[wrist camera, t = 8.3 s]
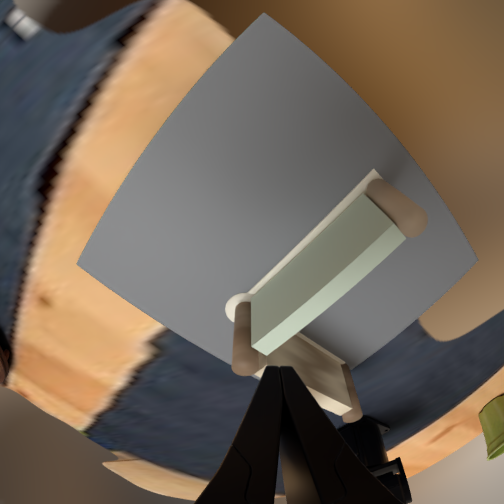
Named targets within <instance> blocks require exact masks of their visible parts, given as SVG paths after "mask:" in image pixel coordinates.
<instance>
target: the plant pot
mask: <svg viewBox="0 0 504 504" xmlns="http://www.w3.org/2000/svg"><path fill="white" fill-rule="evenodd" d="M479 419H480V423H481V426H482V429H483V433H484V436H485V440H486V444H487V453H488V457H487V460H492V459H494V458H496V457H498V456H499V455H501V454H503V453H504V395H503V396H501V397H497V398H495V399H493V400H492V401H491V402H490V403H489V404H487V405H486V406H485V407H484V408H483V411H482V412H481V413H479Z"/></svg>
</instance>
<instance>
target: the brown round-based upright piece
mask: <svg viewBox="0 0 504 504" xmlns="http://www.w3.org/2000/svg"><path fill="white" fill-rule="evenodd" d="M8 357H9V350H8V349H5V350H2V348H1V346H0V383H2V382H3V381H4V380H5V378H6V377H7V375H8V372H9V367H8V362H7V360H8Z"/></svg>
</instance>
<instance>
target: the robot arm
mask: <svg viewBox="0 0 504 504" xmlns="http://www.w3.org/2000/svg"><path fill="white" fill-rule="evenodd" d="M389 430H390V427H389V426H387V425H385V424H382V423H380V422H378V421H375V420H373V419H371V418H368V417H362V418H360V419H359V420H357V421H355V422H353V423H352V424H350V425H348V426H346V427H344V428H343V429H341V430H339V431H338V430H337V429H336V428H335V426H334V425H333V423H332V422H331V421H330V419H329V418H328V416H327V415H326V413H325V412H324V411H323V409H322V408H321V406H320V405H319V404H318V402H317V401H316V399H315V398H314V396H313V395H312V394H311V392H310V391H309V389H308V388H307V386H306V385H305V384H304V382H303V381H302V379H301V378H300V376H299V375H298V374H297V372H296V371H295V369H294V368H293V367H292V366H280V367H279V366H276V365H267V366H266V367H265V369H264V372H263V374H262V376H261V379H260V381H259V383H258V386H257V388H256V390H255V393H254V395H253V397H252V399H251V402H250V404H249V406H248V409H247V411H246V413H245V415H244V417H243V420H242V422H241V424H240V426H239V428H238V431H237V433H236V435H235V437H234V439H233V441H232V444H231V446H230V448H229V450H228V452H227V454H226V456H225V458H224V460H223V462H222V463H221V465H220V467H219V469H218V470H217V472H216V473H215V475H214V476H213V478H212V479H211V481H210V482H209V484H208V485H207V486H206V488H205V489H204V491H203V492H202V493H201V495H200V496H199V497H198V499H197V500H196V501H195V503H194V504H274V498H275V488H276V478H277V468H278V457H279V452H280V459H281V466H282V473H283V480H284V487H285V494H286V501H287V504H408V503H410V502H412V498H411V493H410V489H409V485H408V481H407V478H406V475H405V472H404V468H403V465H402V462H401V459H400V457H398V458H396V459H395V460H392V461H388V457H387V453H386V450H385V446H384V443H383V439H382V436H381V435H383V434H384V433H386V432H388V431H389ZM396 473H398V474H399V475H398V474H396Z"/></svg>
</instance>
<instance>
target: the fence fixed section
mask: <svg viewBox="0 0 504 504" xmlns="http://www.w3.org/2000/svg"><path fill="white" fill-rule="evenodd" d="M267 365H276V366H279V367H280V366H292V367H293V368H294V369H295V371H296V372H297V374H298V375H299V376H300V378H301V379H302V381H303V382H304V384H305V385H306V386H307V388H308V389H309V391H310V392H311V394H312V395H313V396H314V398H315V399H316V401H317V402H318V404H319V405H320V406H321V407H322V408H324V409H326V410H329V411H331V412H333V413H335V414H338V415H340V416H341V415H342V417H343V421H344V422H346V423H351V422H355V421H357V420H359V419H360V418H361V417H362V416H363V414H362V411H361V407H360V404H359V400H358V397H357V393H356V390H355V386H354V383H353V379H352V376H351V373H350V369H349V366H348V365H347V364H340V363H339V362H338V361H336V360H335V359H333V358H331V357H330V356H328V355H327V354H325V353H323V352H322V351H320V350H319V349H317V348H316V347H314V346H313V345H311V344H309V343H308V342H306V341H305V340H303V339H302V338H300V337H299V336H297V335H296V334H295V335H293V336H292V337H291V338H290V339H288V340H287V341H286V342H284V343H283V344H282V345H280V346H279V347H278V348H276V349H275V350H274V351H272V352H271V353H270V354H268V355H267V356H266V355H264V354H263V353H261V352H259V351H258V350H256V349H254V348H253V347H251V302H247V301H245V302H241V303H239V304H237V306H236V307H235V317H234V334H233V352H232V370H233V371H234V372H235V373H236V374H238V375H241V376H250V375H253V374H254V375H256V376H258V377H260V378H261V376H262V374H263V372H264V369H265V367H266V366H267Z"/></svg>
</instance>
